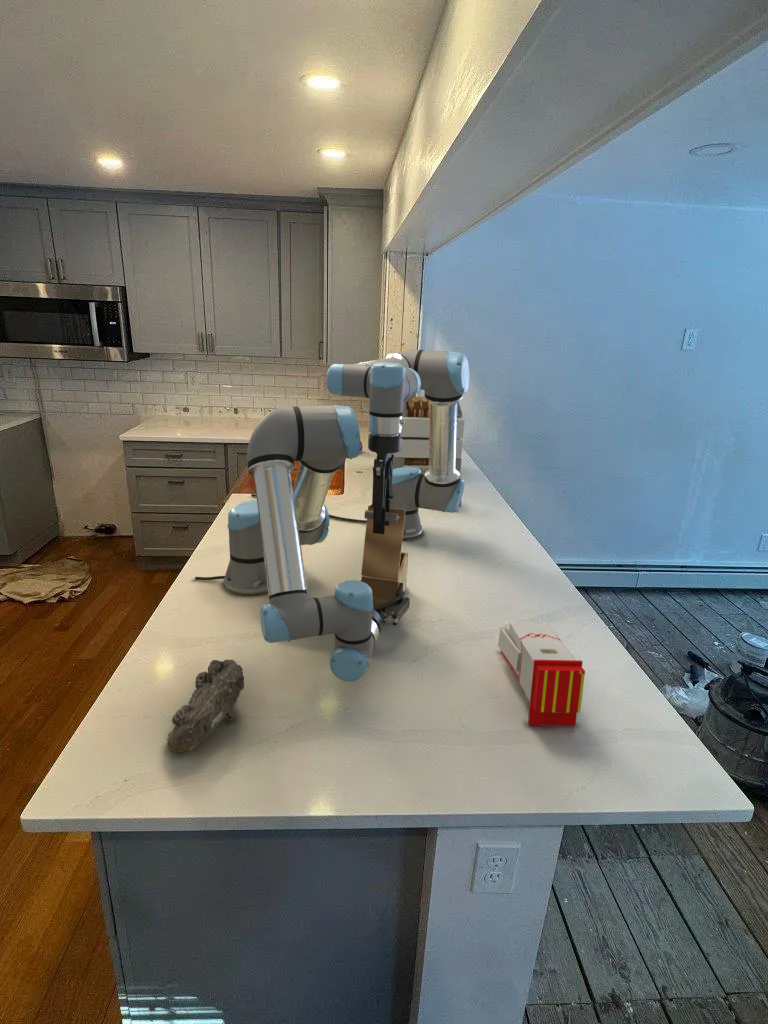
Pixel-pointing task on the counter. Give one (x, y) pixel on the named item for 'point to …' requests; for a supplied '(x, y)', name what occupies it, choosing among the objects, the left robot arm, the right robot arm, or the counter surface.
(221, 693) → the fossil
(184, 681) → the counter surface
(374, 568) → the lid
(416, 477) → the right robot arm
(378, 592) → the chest
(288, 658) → the counter surface
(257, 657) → the counter surface
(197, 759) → the counter surface
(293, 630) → the left robot arm
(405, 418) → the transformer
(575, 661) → the toy
